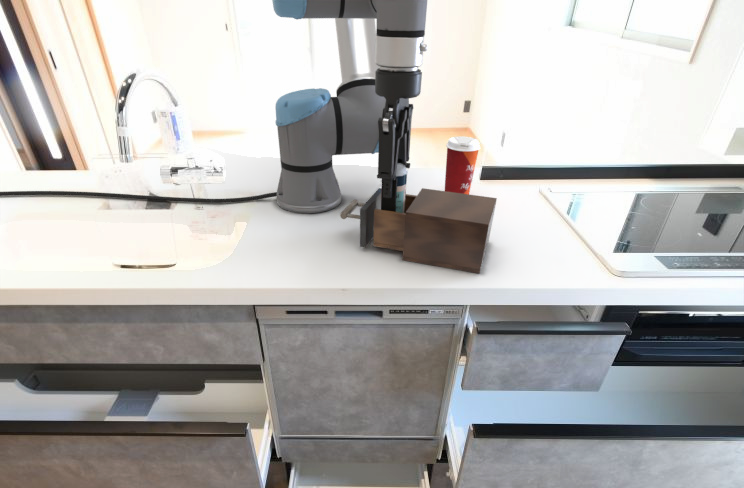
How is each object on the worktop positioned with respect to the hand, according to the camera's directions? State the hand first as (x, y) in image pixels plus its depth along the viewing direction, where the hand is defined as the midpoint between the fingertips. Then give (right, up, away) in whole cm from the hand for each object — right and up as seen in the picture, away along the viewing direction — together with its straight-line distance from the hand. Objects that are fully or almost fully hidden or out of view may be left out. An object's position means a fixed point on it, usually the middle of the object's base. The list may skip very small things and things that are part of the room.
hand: (392, 207), depth 86 cm
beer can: (0, -4, +3) cm, 4 cm away
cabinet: (+11, -8, +2) cm, 14 cm away
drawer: (0, -5, +4) cm, 7 cm away
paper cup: (+16, +8, +23) cm, 29 cm away
